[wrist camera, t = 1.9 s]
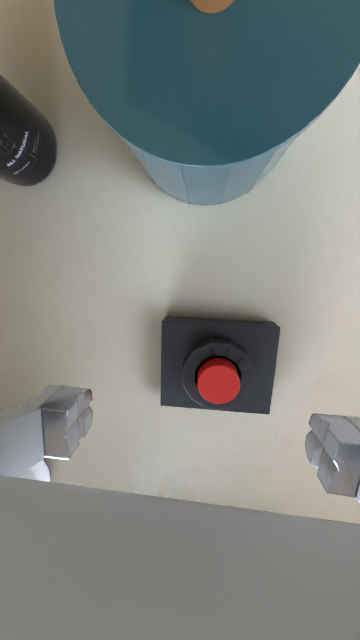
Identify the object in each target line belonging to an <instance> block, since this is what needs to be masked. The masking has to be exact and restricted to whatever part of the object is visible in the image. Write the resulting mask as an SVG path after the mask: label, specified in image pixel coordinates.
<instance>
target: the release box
mask: <svg viewBox="0 0 360 640" xmlns="http://www.w3.org/2000/svg"><path fill="white" fill-rule="evenodd" d="M279 335H280V327H279V326H278V325H277V324H275V323H274V322H262V321H242V320H222V319H202V318H183V317H165V318H164V319H163V321H162V343H161V406H172V407H184V408H196V409H209V410H221V411H234V412H246V413H258V414H269V413H270V405H271V397H272V389H273V382H274V374H275V366H276V358H277V350H278V343H279ZM212 358H224V359H227V360H228V361H230V362H231V363H232V364H233V365H234V366H235V368H236V370H237V373H238V376H239V379H240V390H239V392H238V394H237V396H236V397H235V398H234V399H233V400H231V401H229V402H227V403H223V404H216V403H212V402H209V401H207V400H206V399H205V398H204V397H203V396H202V395H201V394H200V392H199V389H198V372H199V369H200V367H201V365H202V364H203V363H204V362H205V361H207V360H209V359H212Z"/></svg>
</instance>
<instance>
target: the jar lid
mask: <svg viewBox="0 0 360 640" xmlns="http://www.w3.org/2000/svg"><path fill="white" fill-rule="evenodd" d="M54 6H55V14H56V19H57V23H58V28H59V32H60V37H61V41H62V44H63V47H64V50H65V53H66V56H67V59H68V62H69V64H70V66H71V68H72V71H73V73H74V75H75V77H76V79H77V82H78V84H79V85H80V87H81V89H82V90H83V92H84V94H85V95H86V97H87V99H88V100H89V102H90V103H91V105H92V106H93V108H94V109H95V110H96V111H97V113H98V114H99V115H100V117H101V118H102V119H103V120H104V122H105V123H106V124H107V125H108V126H109V127H110V128H111V129H112V130H113V131H114V132H115V133H116V134H117V135H118V136H119V137H120V138H121V139H122V140H124V141H125V142H126V143H128V144H129V145H130V146H132V147H133V148H134V149H135V150H137V151H139V152H141V153H143V154H144V155H146V156H148V157H150V158H152V159H154V160H157V161H159V162H162V163H164V164H167V165H170V166H175V167H179V168H184V169H192V170H219V169H227V168H231V167H236V166H241V165H244V164H247V163H250V162H252V161H255V160H258V159H261V158H263V157H265V156H267V155H269V154H270V153H272V152H274V151H276V150H278V149H280V148H282V147H283V146H284V145H286V144H287V143H289V142H290V141H292V140H293V139H295V138H296V137H298V136H299V135H300V134H301V133H302V132H303V131H305V130H306V129H307V128H308V127H309V126H310V125H311V124H313V123H314V122H315V121H316V120H317V119H318V118H319V116H320V115H321V114H322V113H323V112H324V111H325V110H326V109H327V108H328V107H329V106H330V104H331V103H332V102H333V101H334V100H335V98H336V97H337V96H338V94H339V93H340V92H341V90H342V89H343V88H344V86H345V85H346V84H347V82H348V81H349V79H350V78H351V77H352V75H353V74H354V72H355V70H356V69H357V67H358V65H359V63H360V0H54Z"/></svg>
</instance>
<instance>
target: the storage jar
mask: <svg viewBox="0 0 360 640" xmlns="http://www.w3.org/2000/svg"><path fill="white" fill-rule="evenodd" d="M295 139H296V138H295ZM295 139H293V140H292V141H290V142H289V143H287V144H286V145H284V146H283V147H282V148H280V149H278V150H276V151H274V152H272V153H270V154H269V155H267V156H265V157H263V158H261V159H258V160H255V161H252V162H250V163H247V164H244V165H241V166H236V167H231V168H227V169H219V170H192V169H184V168H179V167H175V166H170V165H167V164H164V163H162V162H159V161H157V160H154V159H152V158H150V157H148V156H146V155H144V154H143V153H141V152H139V151H137V150H135V149H134V148H133V147H132V146H130V145H129V144H128V143H126V142H125V143H126V144H127V146H128V147H129V149H130V150H131V152H132V153H133V155H134V156H135V158H136V159H137V161H138V163H139V164H140V166H141V167H142V169H143V170H144V171H145V172H146V173H147V174H148V175H149V177H150V178H151V179H152V180H153V182H154V183H155V184H156V185H157V186H158V187H159V188H160V189H161V190H162V191H163V192H165V193H167V194H168V195H170V196H172V197H174V198H176V199H178V200H180V201H183V202H186V203H188V204H194V205H216V204H222V203H225V202H228V201H231V200H234V199H236V198H238V197H240V196H242V195H244V194H246V193H248V192H249V191H251V190H252V189H253V188H254V187H255V186H256V185H257V184H258V183H259V182H260V181H261V180H262V179H263V178H264V177H265V176H266V175H267V174H268V173H269V172H270V171H271V170H272V169H273V168H274V167H275V166H276V164H277V163H278V161H279V160H280V159H281V157H282V156H283V155H284V153H285V152H286V151H287V149H288V148H289V147H290V145H291V144H292V143H293V141H294V140H295Z"/></svg>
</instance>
